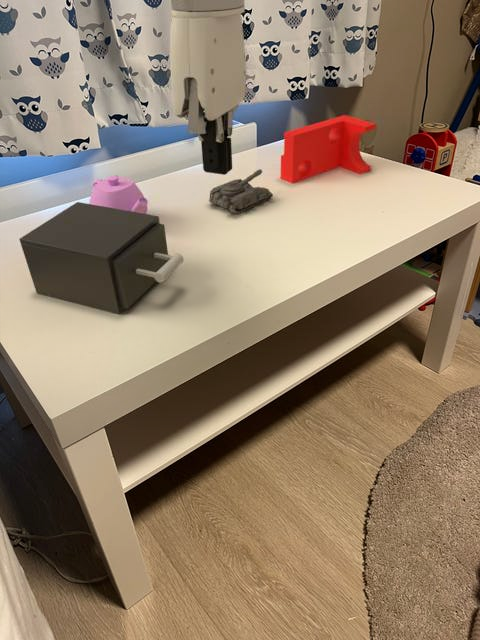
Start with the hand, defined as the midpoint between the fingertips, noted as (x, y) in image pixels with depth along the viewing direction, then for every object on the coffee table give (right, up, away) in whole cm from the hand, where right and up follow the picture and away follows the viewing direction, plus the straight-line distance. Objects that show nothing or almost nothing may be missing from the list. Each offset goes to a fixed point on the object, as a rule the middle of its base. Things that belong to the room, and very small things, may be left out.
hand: (217, 170), depth 64 cm
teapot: (-19, 0, +36) cm, 41 cm away
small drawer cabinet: (-19, -12, +20) cm, 30 cm away
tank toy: (+3, +6, +43) cm, 43 cm away
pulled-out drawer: (-16, -12, +18) cm, 27 cm away
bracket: (+22, +14, +53) cm, 59 cm away
